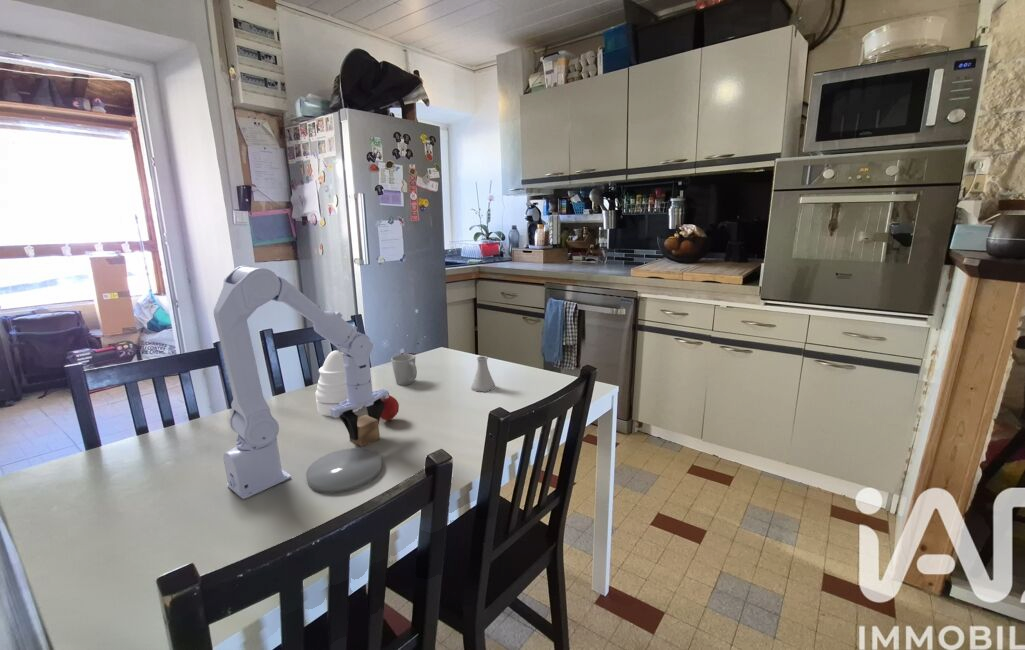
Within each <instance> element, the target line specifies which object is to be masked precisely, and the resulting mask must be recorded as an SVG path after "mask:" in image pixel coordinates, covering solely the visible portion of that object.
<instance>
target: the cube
mask: <svg viewBox="0 0 1025 650" xmlns="http://www.w3.org/2000/svg"><path fill="white" fill-rule="evenodd" d="M379 426H380V425H378V420H377V419H375V418H373V417H370V416H368V414H364V415H361V416H358V421H357V431H358V440H353V439H351V438H350V435H349V434H348V435H349V436H348V437H349V442H351V443H353V444H355V445H358V446H360V448H363V447H364V446H367V445H369V444H371V443H373V442H376V441H377V440H380V439H381V438H380V437H381V436H380V427H379Z"/></svg>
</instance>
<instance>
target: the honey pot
mask: <svg viewBox="0 0 1025 650" xmlns="http://www.w3.org/2000/svg"><path fill="white" fill-rule="evenodd" d="M343 354H344V353H342V352H339V351H338V350H337V349H336V350H333V351H331V352H330V353H328V355H327V357H326V358H325V360H324V362H323V364H322V366H321V367H320V368H319V369H318V373H319V378H318V380H317V385H316V391H315V392H314V395H315V401H316V409H317V413H318V414H319V415H321V416H325V417H326V416H327V417H332V416H331V411H330V408H332V407H335V406H337V405H338V404H340V403H342V402H343V401H345V400H347V399H348V398H347V390H346V381H345V372H344V363H343ZM359 409H360V410H361V409H363V408H362V407H360V408H357V409H355V410H353V412H354V413H355V411H356V412H358V411H360V410H359Z"/></svg>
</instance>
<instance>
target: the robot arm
mask: <svg viewBox="0 0 1025 650" xmlns="http://www.w3.org/2000/svg"><path fill="white" fill-rule="evenodd" d="M270 301H275V302H279V303H284V304H285V305H287V306H288V307H289V308H291V309H293V310H294V311H296V313H298V314H300V315H301V316H303V317H304V318H306V319H307V320H309V321H310V322H312V326H313V331H314V332H315V333H316V334H318V335H319V336H321V337H322V338H323V339H325V340H326V341H328V342H329V343H331V344H332V345H333V346H335V347H336V350H337V351H339V352H342V353H343V363H344V372H345V381H346V390H347V398H348V399H347V400H345V401H343V402H342V403H340V404H338V405H337V406H335V407H332V408H330V411H331V416H330V417H332V418H334V419H337V418H339V419H340V420H341V421H342V423H343V424H344V427H345V428H346V430H347V432H348V435H350V437H349V439H350V438H351V439H353V440H358V431H357V421H358V418H359V415H358V414H356V413H355V412H353V410H355V409H357V408H360V407H363V406H364V407H365V409H366V412H367V415H368V416H370V417H373V418H375V419H377V420H378V425H379V424H380V420H381V418H380V416H381V413H382V411H383V409H384V407H385V402H383V401H381V399H383V398H384V399H386V398H389V395H390V394H389V395H388V393H389V390H388V389H385V388H381V389H379V390H374V391H373V386H372V385H373V384H372V375H371V373H372V372H371V365H370V364H371V363H370V355H371V353H372V351H373V348H374V347H373V346H374V343H373V342H372V341H371V339H370V337H369V336H368V335H366V334H364V333H361V332H359V331H358V327H357V326H356V325H354V324H350V323H349V322H347V321H346V320H345V319H344V318H342V317H343V314H342V313H341V312H339V311H333V310H323V309H322V308H321V307H320V306H317V304H316V303H315V302H313V301H312V300H311V299H310V298H309V297H307V296H306V295H305V294H304V293H303V292H301V291H300V290H299V289H298V288H296V287H295V286H294V285H293V284H292V283H290V282H289V281H288V280H286V279H285V278H284V277H281V276H280V275H279V276H278V275H277V274H276V273H275V272H274V271H273V270H271V269H269V268H264V267H263V268H262V267H260V268H259V267H255V266H251V265H240V266H238V267H236V268H235V269H233V270H232V271H231V272H230V273H229V274H228V275H226V276H225V278H224V279H223V285H222V289H221V292H220V293H219V297H218V298H217V301H216V303H215V305H214V306H215V307H214V309H213V319H214V322H215V326H216V331H217V334H218V339H219V343H220V347H221V348H220V349H221V352H222V355H223V356H222V357H223V361H224V364H225V365H224V366H225V368H226V372H227V376H228V382H229V385H230V390H231V395H232V398H233V400H232V401H231V403H230V406H231V415H230V419H229V426H230V429H231V430H232V431H233V432H234V433H236V434H237V437H236V442H235V446H234V447H232V448H231V449H230V450H228V451H226V452H224V453H223V465H224V469H225V475H226V480H227V483H226V486H227V487H228V488H229V489H230V490H231V491H233V492H234V493H235V494H236V495H238V496H239V497H240V498H241V499H243V500H245V499H248V498H249V497H252V496H254V495H256V494H258V493H260V492H263V491H266V490H267V489H269V488H271V487H273V486H276V485H279V484H280V483H282V482H285V481H287V480H289V479H290V478H292V475H291V474H289V473H288V472H286V471H285V470H283V469H282V468H283V467H282V461H281V454H280V450H279V444H278V438H277V437H278V435H279V431H280V426H279V423H278V422H279V421H277V419H275V418H274V417H273V415H272V413H271V409H270V407H269V405H268V402H267V401H266V399H265V396H264V394H263V388H262V384H261V380H260V374H259V370H258V366H257V361H256V358H255V353H254V352H255V351H254V347H253V343H252V338H251V335H250V334H251V333H250V329H249V325H248V319H249V318H250V317H251V315H252V314H253V313H254V312H255V311H256V310H257V309H258V308H260V307H262V306H264V305H265V304H267V303H268V302H270ZM364 407H363V408H364ZM379 426H380V425H379Z"/></svg>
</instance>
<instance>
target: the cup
mask: <svg viewBox="0 0 1025 650" xmlns="http://www.w3.org/2000/svg"><path fill="white" fill-rule="evenodd" d="M390 361H391V366H392V371H393V375H394V379H395V382H396V384H397V385H398V386H409V385H412V384H413V383H414V382H415V380H416V378H417V373H418V372H417V370H418V369H417V366H416V355H415V354H411V353H402V354H397V355H394V356H392V357H391V359H390Z"/></svg>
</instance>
